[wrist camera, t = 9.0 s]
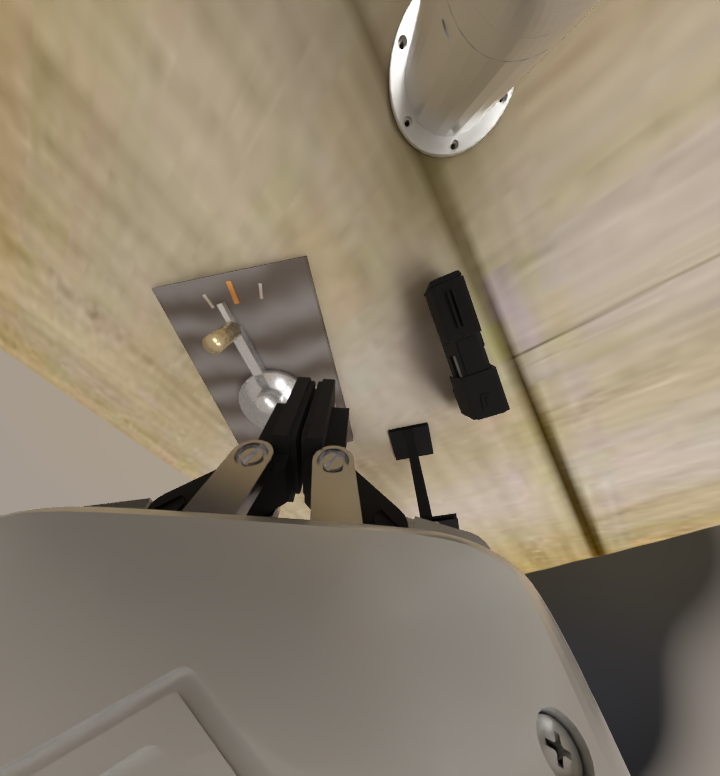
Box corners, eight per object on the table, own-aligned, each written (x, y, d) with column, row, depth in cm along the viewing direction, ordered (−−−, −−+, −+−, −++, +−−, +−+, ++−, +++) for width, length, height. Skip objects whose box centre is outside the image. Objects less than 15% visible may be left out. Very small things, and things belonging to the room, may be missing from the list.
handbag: (433, 455, 54) (495, 663, 28) (397, 462, 55) (424, 667, 29) (426, 415, 48) (493, 625, 23) (386, 423, 50) (407, 632, 24)
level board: (159, 286, 38) (138, 292, 34) (306, 255, 35) (300, 258, 32) (247, 449, 54) (239, 463, 50) (353, 435, 51) (352, 450, 48)
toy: (456, 415, 46) (477, 444, 31) (418, 306, 45) (422, 283, 30) (487, 405, 45) (524, 431, 30) (448, 293, 44) (468, 263, 29)
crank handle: (322, 419, 47) (316, 447, 41) (262, 433, 49) (248, 462, 43) (261, 288, 36) (239, 301, 30) (187, 314, 38) (151, 330, 32)
